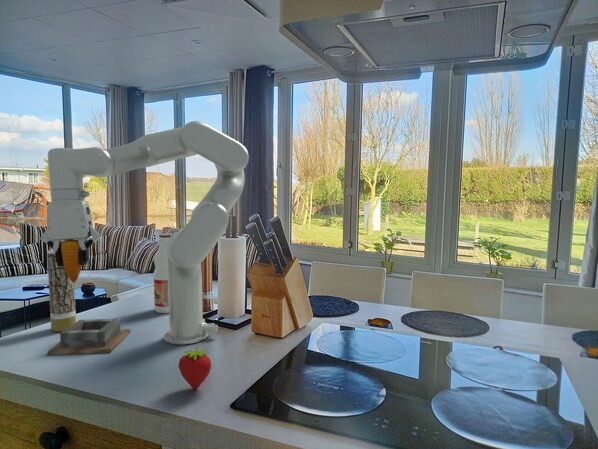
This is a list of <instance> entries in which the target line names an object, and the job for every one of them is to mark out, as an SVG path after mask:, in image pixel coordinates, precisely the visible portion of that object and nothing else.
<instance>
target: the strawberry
mask: <svg viewBox="0 0 598 449" xmlns="http://www.w3.org/2000/svg"><path fill="white" fill-rule="evenodd" d="M196 343H197V344H196V348H195V349H196V350H193V349H190V350H187V351H184V353H185V354H183V356H181V357H180V359H179V360H178V365H177V366H178V369H179V371H180V375H181V376H182V377H183V379H184V380H185V381H186V382H187V383H188V385H189V386H190V388H192V389H193V390H197V389H199V388H200V387H201V385H202V383H204V382H205V381H206V378H207V377H208V375H209V374H210V373H211V372H210V371H211V368H212V361H211V359H210V358H209V356H207V354H208V352H205V350H206V349H207V348H203V349H198V345H199V342H196ZM197 350H198V351H197ZM208 355H209V354H208Z"/></svg>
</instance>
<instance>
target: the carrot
mask: <svg viewBox="0 0 598 449" xmlns="http://www.w3.org/2000/svg"><path fill="white" fill-rule="evenodd" d="M80 250H81V247H80V245H79V242H78V239H70V240H64V241H63V242H62V243H61V254H62V261H63V265H64V268H65V271H66V273H67V275H68V277H69V278H70V280H71V281H72V282H73V283H74V284H75V283H76V281H77V280H78V279H79V275H80V274H81V269H82V265H80V259H79V251H80Z"/></svg>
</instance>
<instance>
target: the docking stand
mask: <svg viewBox="0 0 598 449" xmlns="http://www.w3.org/2000/svg"><path fill="white" fill-rule="evenodd" d="M130 333H131V328H123V329H122V328H121V318H96V319H93V318H92V319H79V320H76V323H74V324H73V325H71V326H70V327H69V328H67V329H66V330H64V331H62V332H59V337H60V341H59V343H57V344H56V345H54V346H53V347H52V348H50V349H49V350H48V351H47V355H49V356H52V355H53V356H54V355H56V356H58V355H83V354H85V355H87V354H110V353H112V352H113V351H114V350H115V349H116V348H117V347H119V345H120V344H121V343H122V342H123V341H124V340H125V339H126V338H127V337H128V336H129V334H130Z"/></svg>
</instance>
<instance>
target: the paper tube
mask: <svg viewBox="0 0 598 449" xmlns="http://www.w3.org/2000/svg"><path fill="white" fill-rule="evenodd" d="M46 252H47V253H46V254H47V275H48V276H47V277H48V290H49V292H48V294H49V311H50V316H49V317H50V329H51V330H52V332H55V333H56V332H58V333H61V332H63V331H64V330H66V329H67V328H69V327H70V326H71V325H73V324H74V323H76V322H77V320H76V319H77V318H76V317H77V316H76V314H77V313H76V296H75V295H76V294H75V292H76V290H75V282H74V283H73V282H72V281H71V280H70V278H69V277H68V275H67V273H66V271H65V268H64V265H62V266H58V265H57V263H56V257H55V251H53V249H48V250H47V251H46Z"/></svg>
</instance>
